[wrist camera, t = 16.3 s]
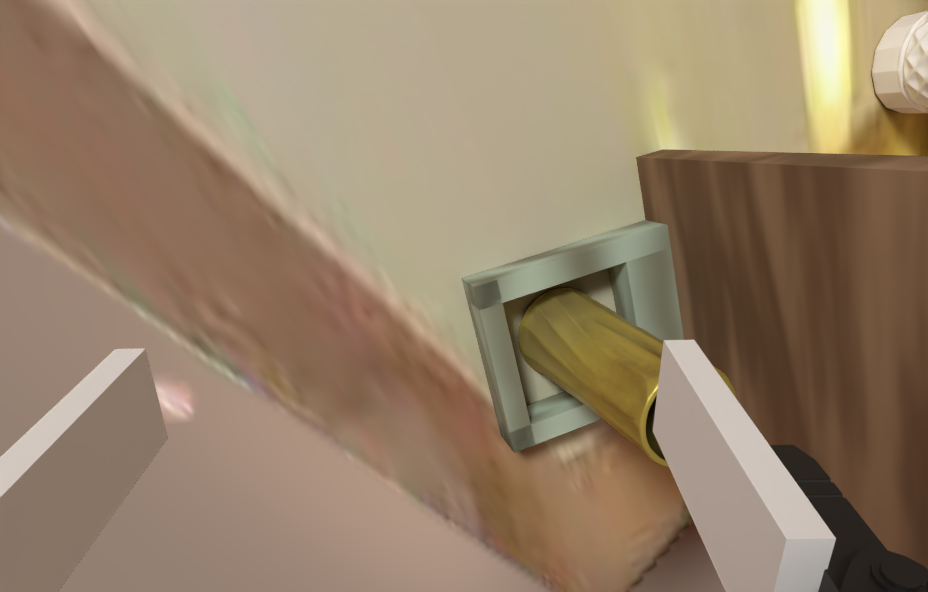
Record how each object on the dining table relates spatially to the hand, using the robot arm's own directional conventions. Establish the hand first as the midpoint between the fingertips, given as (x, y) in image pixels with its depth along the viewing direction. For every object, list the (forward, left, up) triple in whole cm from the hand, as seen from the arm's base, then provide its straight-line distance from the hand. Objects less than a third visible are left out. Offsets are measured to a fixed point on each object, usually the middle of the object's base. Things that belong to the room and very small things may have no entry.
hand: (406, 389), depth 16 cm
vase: (-9, +13, -22) cm, 28 cm away
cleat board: (-10, +14, -22) cm, 28 cm away
